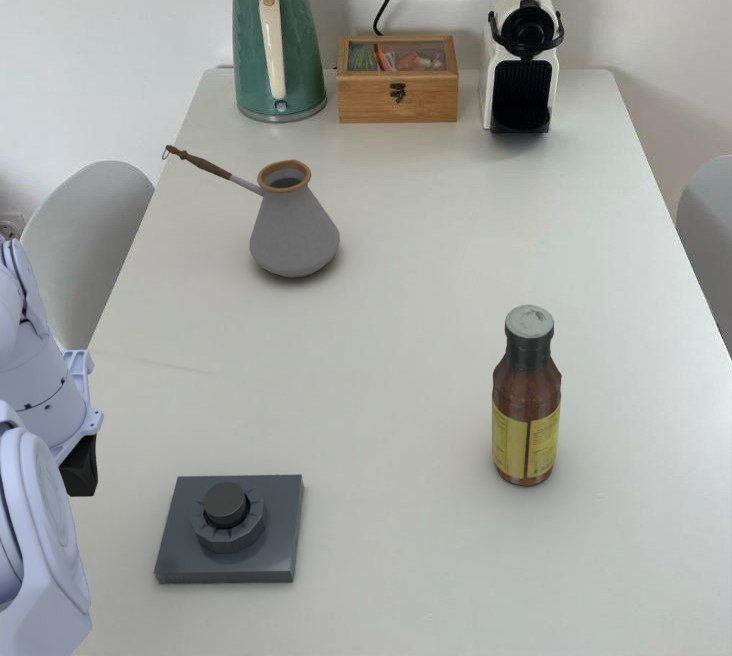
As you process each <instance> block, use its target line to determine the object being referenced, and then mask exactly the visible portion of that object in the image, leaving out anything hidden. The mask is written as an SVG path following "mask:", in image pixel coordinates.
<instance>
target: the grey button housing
mask: <svg viewBox="0 0 732 656" xmlns="http://www.w3.org/2000/svg"><path fill="white" fill-rule="evenodd" d="M221 482H233V483H236V484H238V485H239V486H240V487H241V488H242V490H243V492H244V495H245V499H246V502H247V506H248V511H247V514H246V517H245V518H244V520H243V521H242V522H241V523H240V524H238V525H237V526H235V527H232V528H229V529H220V528H217V527H215V526H213V525H212V524H211V523H210V522H209V520H208V517H207V514H206V511H205V509H204V505H203V499H204V496H205V494H206V492H207V491H208V490H209V489H210V488H211V487H212V486H214V485H216V484H218V483H221ZM304 489H305V484H304V480H303V475H302V474H300V473H299V474H244V475H243V474H242V475H239V474H238V475H185V476H184V475H183V476H181V475H180V476H177V478H176V481H175V485H174V490H173V493H172V498H171V502H170V505H169V508H168V509H169V510H168V513H167V517H166V521H165V524H164V525H165V526H164V530H163V534H162V537H161V541H160V546H159V549H158V553H157V558H156V561H155V565H154V569H153V574H154V576H155V578H156V581H157V582H158V584H159V585H164V584H165V585H166V584H167V585H170V584H171V585H172V584H175V585H177V584H180V585H181V584H244V583H245V584H249V583H251V584H253V583H255V584H256V583H257V584H259V583H293V582H294V578H295V570H296V562H297V553H298V544H299V543H298V542H299V534H300V524H301V515H302V509H303V507H302V506H303V499H304V492H305V491H304Z"/></svg>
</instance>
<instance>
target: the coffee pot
mask: <svg viewBox="0 0 732 656" xmlns="http://www.w3.org/2000/svg"><path fill="white" fill-rule="evenodd" d="M166 152H167V154H166ZM165 154H166V155H165ZM170 154H171V155H176V156H178V157H179V159H180V160H181V161H187V162H189V163H191V164H192V165H193V166H195V167H197V168H198V169H200V170H202V171H205V172H207V173H209V174H212V175H215V176H217V177H218V178H219V177H220V178H222V179H224V180H226V181H230V182H232V183H235V184H236V185H238V186H240V187H242V188H245V189H246V190H249V191H250V192H252V193H254V194H256V195H258V196H260V197H262V200H261V203H260V207H259V210H258V213H257V216H256V219H255V222H254V224H253V225H254V226H253V229H252V232H251V236H250V238H249V252H250V255H251V256H252V258H253V260H254V261H255V262H256V263H257V264H258V265H259V266H260V267H261V268H262V269H264V270H266V271H268V272H269V273H271V274H275V275H278V276H281V277H284V278H291V279H292V278H293V279H294V278H304V277H307V276H310V275H313V274H315V273H316V272H318V271H320V270H321V269H322V268H324V266H326V265H327V264H329V262H330V261H331V260H332V259H333V258H334V256H335V255H336V253H337V252H338V249H339V246H340V243H341V235H340V231H339V229H338V228H337V225H336V224H335V222H334V221H333V220H332V218H331V217H330V215H329V214H328V212H327V211H326V210H325V208H324V207H323V205H322V204H321V203H320V201H319V199H317V196H316V195H315V194H314V193H313V191H312V190H311V188H310V187H309V183H310V181H311V179H312V171H311V169H310V168H309V166H307V165H306V164H305V163H304V162H301V161H300V160H297V159H285V160H280V161H279V160H278V161H275V162H272V163H270V164H267V165H266V166H265V167H262V169H261V170H260V171H259V172H258V174H257V177H256V182H257V185H256V184H255V183H252V182H250V181H247V180H245V179H243V178H240V177H238V176H236V175H234V174H233V173H231V172H229V171H228V170H225V169H223V167H220V166H218V165H216V164H215V163H213V162H211V161H209V160H207V159H205V158H203V157H200V156H196V155H193V154H189V152H188V151H187V150H186V149H183V150H181V149H178V148H177V147H176V146H173V145H172V144H166V145H165V149H164V151H163V153H162V156H161V160H162V161H165V160H166V159H167V158H169V155H170Z"/></svg>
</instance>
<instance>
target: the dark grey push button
mask: <svg viewBox="0 0 732 656" xmlns="http://www.w3.org/2000/svg"><path fill="white" fill-rule="evenodd" d="M203 505H204V509H205V511H206V514H207V517H208V520H209V522H210V523H211V524H212V525H213V526H215V527H217V528H220V529H229V528H232V527H235V526H237V525H238V524H240V523H241V522H242V521H243V520H244V518H245V517H246V514H247V511H248V506H247V502H246V499H245V495H244V492H243V490H242V488H241V487H240V486H239V485H238V484H236V483H233V482H221V483H218V484H216V485H214V486H212V487H211V488H210V489H209V490H208V491H207V492H206V494H205V496H204V499H203Z"/></svg>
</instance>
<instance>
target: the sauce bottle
mask: <svg viewBox="0 0 732 656" xmlns="http://www.w3.org/2000/svg"><path fill="white" fill-rule="evenodd" d="M504 335H505V337H506V347H505V353H504V354H503V356H502V358H501V359H500V361H499V362H498V364H497V365H496V366H495V367H494V369H493V372H492V391H491V457H492V459H493V460H492V461H493V463H494V466H495V469H496V471H497V472H498V474H499V475H500V476H501V477H502V478H503V480H505V481H507V482H510V483H512V484H516V485H520V486H523V487H524V486H526V487H529V486H534V485H537V484H539V483H541V482H543V481H545V480H546V479H547V478H549V476H550V475H551V474H552V471H553V468H554V465H555V461H556V459H557V450H558V440H559V439H558V437H559V431H560V430H559V429H560V419H561V418H560V417H561V405H562V392H561V390H562V389H561V388H562V378H563V376H562V375H563V374H562V373H561V372H560V371H559V369H558V366H557V365H556V363H555V361H554V359H553V358H552V351H551V343H552V339H553V338H554V337H555V336H554V335H555V320H554V317H553V315H552V313H550V312H549V311H548V310H547V309H545V308H543V307H541V306H538V305H534V304H522V305H519V306H516V307H514V308H512V309H511V310H510V311H509V312H508V313H507V314H506V315H505V320H504Z"/></svg>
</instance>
